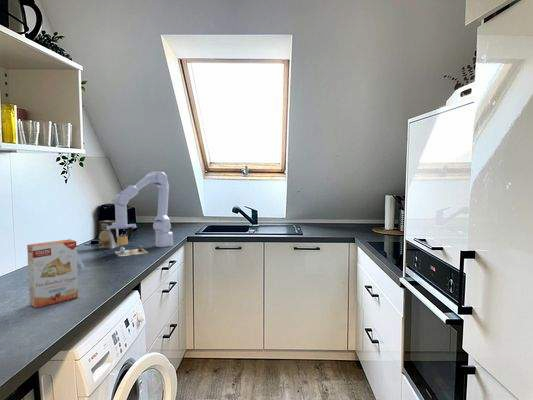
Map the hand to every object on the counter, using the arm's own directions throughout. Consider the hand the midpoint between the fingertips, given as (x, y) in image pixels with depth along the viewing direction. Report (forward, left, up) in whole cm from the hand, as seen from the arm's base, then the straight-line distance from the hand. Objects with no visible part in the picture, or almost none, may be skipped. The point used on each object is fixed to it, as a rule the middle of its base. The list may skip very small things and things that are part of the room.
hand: (122, 242), depth 198 cm
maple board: (-5, 0, -7) cm, 8 cm away
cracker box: (+33, +60, -7) cm, 69 cm away
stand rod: (-9, 0, -6) cm, 11 cm away
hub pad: (0, 0, -6) cm, 6 cm away
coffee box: (+3, -21, -7) cm, 22 cm away
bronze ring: (0, 0, -1) cm, 1 cm away
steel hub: (0, 0, -6) cm, 6 cm away
